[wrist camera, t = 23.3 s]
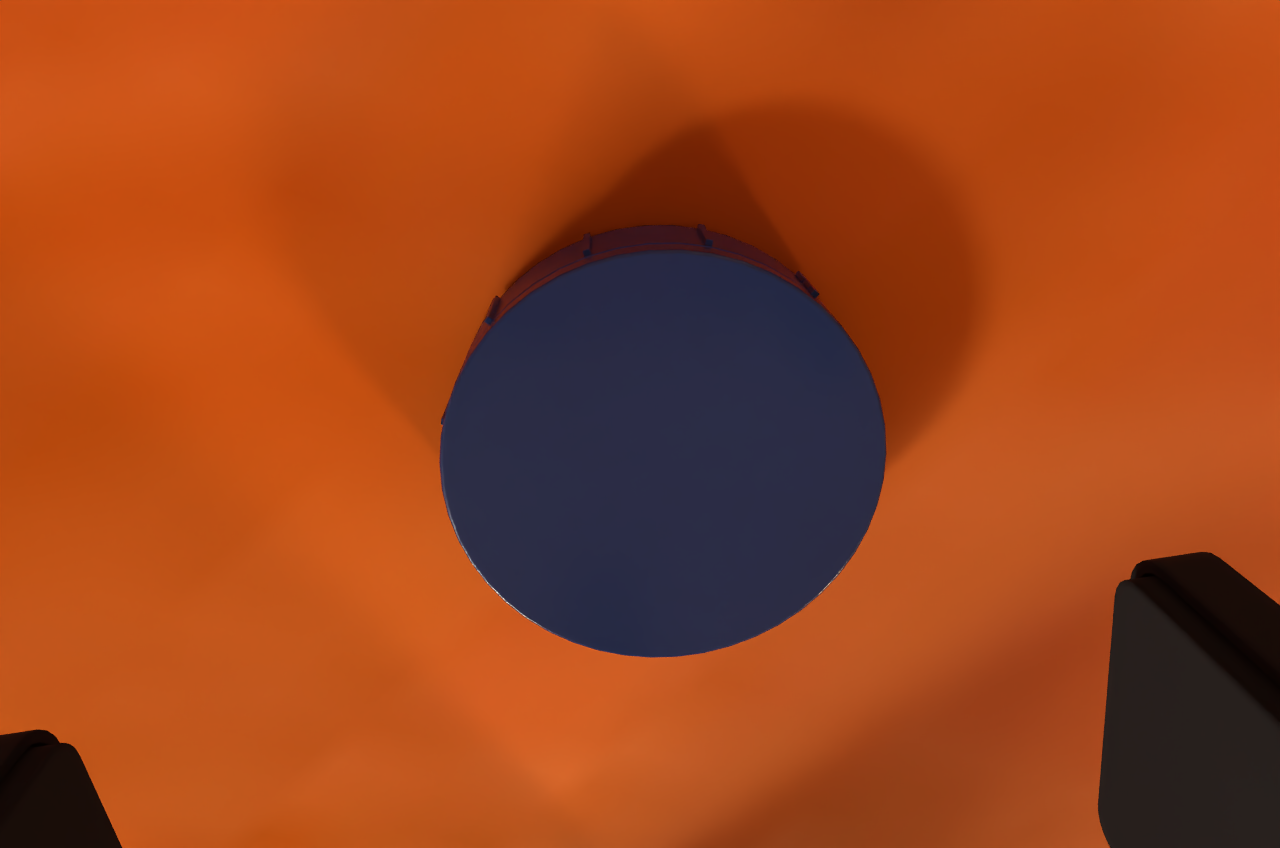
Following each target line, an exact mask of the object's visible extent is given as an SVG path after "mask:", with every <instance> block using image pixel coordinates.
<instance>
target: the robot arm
mask: <svg viewBox="0 0 1280 848" xmlns="http://www.w3.org/2000/svg"><path fill="white" fill-rule="evenodd" d="M1098 813H1099V818H1100V823H1101V826H1102V830H1103V833H1104V835H1105V837H1106V840H1107V842H1108V844H1109V846H1110V847H1111V848H1280V605H1279V604H1277V603H1276V602H1275V601H1273V600H1272V599H1271V598H1270V597H1268V596H1267V595H1266V594H1265V593H1263V592H1262V591H1261V590H1260V589H1258V588H1257V587H1256V586H1255V585H1253V584H1252V583H1251V582H1250V581H1248V580H1247V579H1246V578H1245V577H1243V576H1242V575H1241V574H1239V573H1238V572H1237V571H1236V570H1234V569H1233V568H1232V567H1231V566H1229V565H1228V564H1227V563H1226V562H1224V561H1223V560H1222V559H1221V558H1219V557H1217V556H1215V555H1214V554H1212V553H1208V552H1197V553H1190V554H1184V555H1177V556H1171V557H1164V558H1158V559H1151V560H1145V561H1142V562H1140V563H1138V564H1137V565H1136V566H1135V568H1134V569H1133V571H1132V574H1131V579H1129V580H1124V581H1122V582H1120V583H1119V585H1118V587H1117V588H1116V593H1115V600H1114V613H1113V625H1112V638H1111V650H1110V662H1109V675H1108V687H1107V700H1106V712H1105V724H1104V737H1103V749H1102V762H1101V774H1100V786H1099V799H1098ZM0 848H122V846H121V844H120V842H119V840H118V838H117V836H116V833H115V831H114V829H113V827H112V825H111V822H110V820H109V818H108V816H107V814H106V812H105V809H104V807H103V805H102V803H101V801H100V799H99V796H98V794H97V792H96V790H95V788H94V785H93V783H92V781H91V779H90V777H89V775H88V772H87V770H86V768H85V766H84V764H83V761H82V759H81V757H80V755H79V753H78V752H77V750H76V749H75V748H74V747H73V746H71V745H70V744H67V743H60V742H59V741H58V739H57V738H56V736H54V735H53V734H51V733H50V732H48V731H46V730H31V731H25V732H18V733H12V734H5V735H0Z"/></svg>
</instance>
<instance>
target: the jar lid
mask: <svg viewBox="0 0 1280 848" xmlns="http://www.w3.org/2000/svg"><path fill="white" fill-rule="evenodd" d="M818 295H819V293H818V291H817V290H816V289H815V288H814V287H813V286H812V285H811V283H810V282H809V281H808V280H807V279H806V278H805V277H804V275H803V274H802V273H800V272H799V271H798V272H797V273H796V274H794V273H793V272H791V271H790V270H789V269H788V268H786V267H785V266H784V265H782V264H781V263H780V262H779V261H777V260H776V259H774V258H773V257H771V256H769V255H768V254H766V253H764V252H762V251H761V250H759V249H757V248H755V247H754V246H752V245H749V244H747V243H744V242H742V241H740V240H737V239H735V238H732V237H730V236H727V235H724V234H720V233H716V232H712V231H708V230H707V229H706V227H705V225H702V224H698V226H697V228H692V227H684V226H675V225H644V226H637V227H630V228H623V229H616V230H612V231H609V232H605V233H602V234H598V235H595V236H591V235H590V233H587V234H584V236H583V240H581V241H579V242H577V243H574V244H572V245H570V246H567V247H565V248H563V249H561V250H559V251H558V252H556V253H554V254H553V255H551V256H549V257H548V258H546V259H544V260H543V261H541V262H539V263H538V264H537V265H536V266H534V267H533V268H532V269H531V270H529V271H528V272H527V273H526V274H524V275H523V276H522V277H521V278H519V279H518V280H517V281H516V282H515V283H514V284H513V285H512V286H511V287H510V288H509V289H508V290H507V292H506V293H505V294H504V295H503V296H502V297H501V298H499V297H498V296H495V298H494V299H493V301H492V303H491V305H490V308H489V310H488V313H487V315H486V318H485V320H484V321H483V323H482V325H481V327H480V329H479V331H478V332H477V334H476V336H475V338H474V340H473V342H472V344H471V346H470V349H469V351H468V354H467V356H466V358H465V361H464V363H463V366H462V368H461V370H460V373H459V375H458V378H457V380H456V382H455V385H454V388H453V391H452V394H451V397H450V399H449V402H448V404H447V407H446V409H445V412H444V414H443V416H442V419H441V424H442V425H443V427H442V432H441V443H440V473H441V484H442V491H443V496H444V500H445V504H446V508H447V512H448V516H449V518H450V521H451V523H452V526H453V528H454V531H455V533H456V536H457V538H458V540H459V542H460V544H461V546H462V547H463V549H464V551H465V553H466V554H467V556H468V558H469V560H470V561H471V563H472V564H473V566H474V567H475V568H476V570H477V571H478V572H479V573H480V575H481V576H482V577H483V579H484V580H485V581H486V583H487V584H488V585H489V586H490V587H491V588H492V589H493V590H494V591H495V592H496V593H497V594H498V595H499V596H500V597H501V598H502V599H503V600H504V601H505V602H506V603H507V604H509V605H510V606H511V607H513V608H514V609H515V610H516V611H518V612H519V613H520V614H522V615H523V616H524V617H526V618H527V619H529V620H530V621H532V622H534V623H535V624H537V625H539V626H540V627H542V628H544V629H545V630H547V631H549V632H551V633H553V634H555V635H558V636H560V637H562V638H564V639H567V640H569V641H571V642H573V643H577V644H580V645H583V646H586V647H589V648H593V649H596V650H599V651H605V652H610V653H615V654H620V655H627V656H640V657H678V656H685V655H692V654H699V653H705V652H709V651H713V650H717V649H721V648H725V647H729V646H732V645H735V644H737V643H740V642H743V641H745V640H748V639H751V638H753V637H756V636H758V635H760V634H762V633H764V632H766V631H768V630H770V629H772V628H774V627H776V626H778V625H779V624H781V623H782V622H784V621H785V620H787V619H788V618H790V617H792V616H793V615H795V614H796V613H798V612H799V611H801V610H802V609H803V608H804V607H805V606H807V605H808V604H809V603H810V602H811V601H813V600H814V599H815V598H816V597H817V596H819V595H820V594H821V593H822V592H823V591H824V590H825V589H826V588H827V587H828V586H829V585H830V583H831V582H832V581H833V580H834V579H835V578H836V577H837V576H838V575H839V574H840V572H841V571H842V570H843V568H844V567H845V566H846V564H847V563H848V562H849V560H850V559H851V557H852V556H853V555H854V553H855V552H856V550H857V548H858V546H859V544H860V543H861V541H862V539H863V537H864V535H865V534H866V532H867V530H868V527H869V525H870V522H871V520H872V517H873V515H874V512H875V510H876V507H877V504H878V500H879V496H880V492H881V488H882V484H883V480H884V471H885V461H886V433H885V422H884V417H883V412H882V406H881V401H880V397H879V395H878V392H877V389H876V386H875V383H874V380H873V377H872V374H871V372H870V370H869V368H868V366H867V364H866V363H865V361H864V359H863V357H862V355H861V353H860V351H859V349H858V348H857V346H856V345H855V344H854V342H853V341H852V339H851V338H850V337H849V335H848V334H847V332H846V331H845V330H844V328H843V327H842V326H841V324H840V323H839V322H838V321H837V320H836V319H835V317H834V316H833V315H832V314H831V313H830V312H829V310H828V309H827V308H826V307H825V306H824V305H823V303H822V302H821V301H820V300H819V299H818V297H817V296H818Z"/></svg>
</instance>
